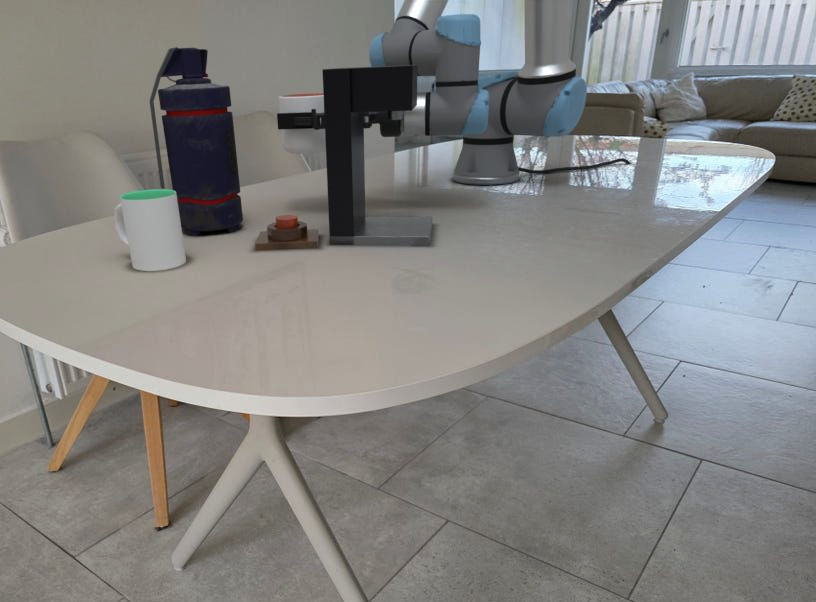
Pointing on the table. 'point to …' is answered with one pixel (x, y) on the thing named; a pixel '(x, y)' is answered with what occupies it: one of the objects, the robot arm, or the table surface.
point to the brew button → (286, 221)
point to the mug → (151, 229)
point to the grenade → (198, 143)
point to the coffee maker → (345, 152)
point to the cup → (303, 138)
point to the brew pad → (287, 238)
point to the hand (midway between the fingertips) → (285, 118)
